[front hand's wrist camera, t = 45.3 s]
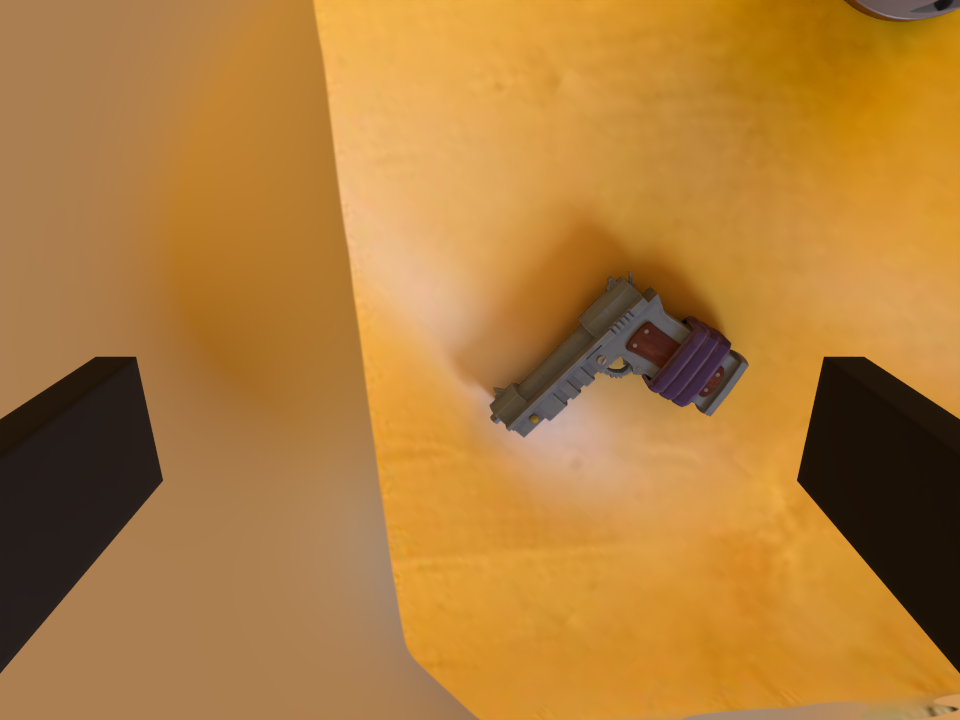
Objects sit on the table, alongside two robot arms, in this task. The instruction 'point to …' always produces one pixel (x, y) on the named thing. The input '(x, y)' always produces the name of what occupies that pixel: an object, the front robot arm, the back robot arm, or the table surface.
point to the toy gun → (626, 359)
